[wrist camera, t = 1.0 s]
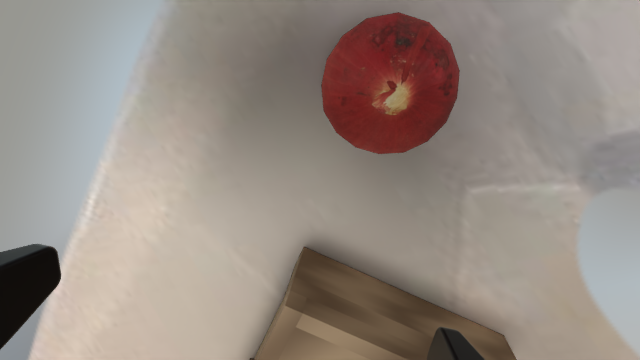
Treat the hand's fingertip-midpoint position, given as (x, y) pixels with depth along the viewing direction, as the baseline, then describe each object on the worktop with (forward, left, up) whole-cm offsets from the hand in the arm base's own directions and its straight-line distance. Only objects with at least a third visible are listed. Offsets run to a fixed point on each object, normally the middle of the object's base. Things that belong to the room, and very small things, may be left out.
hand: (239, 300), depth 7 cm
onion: (-2, -5, -13) cm, 14 cm away
